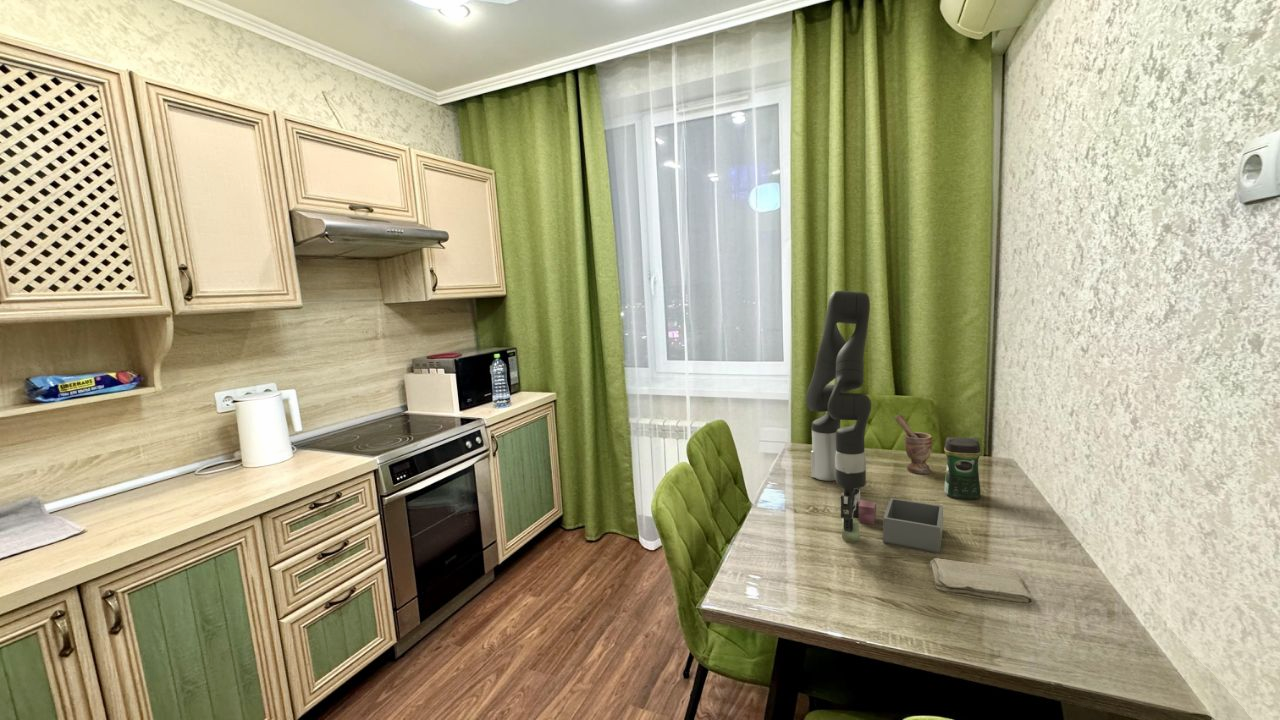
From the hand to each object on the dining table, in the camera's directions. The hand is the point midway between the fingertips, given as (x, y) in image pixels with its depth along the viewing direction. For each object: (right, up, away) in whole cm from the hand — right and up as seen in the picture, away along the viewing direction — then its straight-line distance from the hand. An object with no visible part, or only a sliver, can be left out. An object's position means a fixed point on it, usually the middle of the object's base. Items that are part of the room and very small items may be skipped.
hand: (851, 524), depth 138 cm
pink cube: (+9, -2, +11) cm, 14 cm away
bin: (+17, -3, 0) cm, 17 cm away
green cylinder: (0, -4, +1) cm, 4 cm away
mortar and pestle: (+40, +5, +44) cm, 60 cm away
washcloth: (+19, -7, -22) cm, 30 cm away
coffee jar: (+44, +2, +22) cm, 49 cm away
